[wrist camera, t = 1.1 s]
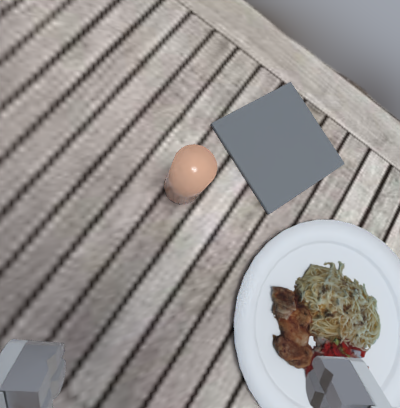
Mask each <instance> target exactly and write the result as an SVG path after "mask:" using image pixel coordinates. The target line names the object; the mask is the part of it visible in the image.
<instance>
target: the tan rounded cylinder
mask: <svg viewBox="0 0 400 408" xmlns="http://www.w3.org/2000/svg"><path fill="white" fill-rule="evenodd" d="M216 172H217V162H216V159H215V157H214V155H213V154H212V153H211V152H210V151H209V150H208V149H207V148H205V147H203V146H200V145H195V144H194V145H187V146H185V147H183V148H181V149H180V150H179V151H178V152H177V153H176V155H175V157H174V160H173V162H172V165H171V167H170V170H169V173H168V175H167V178H166V180H165V184H164V190H165V193H166V195H167V197H168V198H169V199H170V200H171V201H173V202H174V203H177V204H188V203H190V202H192V201H193V200H194V199H195V198H196V197H197V196H198V195H199V194H200V193H201V192H202V191H203V190H204V189H205V188H206V187H207V186H208V185H209V184H210V182H211V181H212V180H213V179H214V177H215V175H216Z"/></svg>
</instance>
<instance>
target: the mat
mask: <svg viewBox="0 0 400 408" xmlns="http://www.w3.org/2000/svg"><path fill="white" fill-rule="evenodd" d="M211 126H212V128H213V130H214V131H215V133H216V134H217V136H218V137H219V139H220V141H221V142H222V144H223V145H224V147H225V148H226V150H227V151H228V153H229V155H230V156H231V158H232V159H233V161H234V162H235V164H236V166H237V167H238V169H239V170H240V172H241V173H242V175H243V177H244V178H245V180H246V181H247V183H248V184H249V186H250V188H251V189H252V191H253V192H254V194H255V195H256V197H257V199H258V200H259V202H260V203H261V205H262V206H263V208H264V209H265V211H266V213H267V214H270V213H272V212H273V211H275V210H276V209H278V208H279V207H281V206H282V205H284V204H285V203H287V202H288V201H290V200H291V199H293V198H294V197H296V196H297V195H299V194H300V193H302V192H303V191H305V190H306V189H308V188H309V187H310V186H312V185H313V184H315V183H316V182H318V181H319V180H321V179H322V178H324V177H325V176H327V175H328V174H330V173H331V172H333V171H334V170H336V169H337V168H339V167H340V166H342V165H343V164H344V162H343V161H342V159H341V157H340V156H339V154H338V153H337V151H336V150H335V148H334V147H333V145H332V144H331V142H330V141H329V139H328V138H327V136H326V135H325V133H324V132H323V130H322V129H321V127H320V126H319V124H318V123H317V121H316V120H315V118H314V117H313V115H312V113H311V112H310V110H309V109H308V107H307V106H306V104H305V103H304V101H303V100H302V98H301V97H300V95H299V94H298V92H297V91H296V89H295V88H294V86H293V85H292V83H291V82H289V83H288V84H286V85H284V86H282V87H280V88H278V89H276V90H274V91H272V92H270V93H268V94H267V95H265V96H263V97H261V98H259V99H257V100H255V101H253V102H251V103H249V104H248V105H246V106H244V107H242V108H240V109H238V110H236V111H234V112H232V113H230V114H228V115H227V116H225V117H223V118H221V119H219V120H217V121H215V122H213V123H212V124H211Z"/></svg>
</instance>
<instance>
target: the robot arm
mask: <svg viewBox="0 0 400 408" xmlns="http://www.w3.org/2000/svg"><path fill="white" fill-rule="evenodd" d="M64 351H65V349H64V343H57V342H45V341H32V340H17V339H12V340H11V341H9V342H8V343H7V344H6V346H5V347H4V349H3V350H2V352H1V353H0V408H53V401H52V400H53V399H55V398H56V397H57V396H58V395H59V393H60V391H61V388H62V385H63V381H64V377H65V371H66V361H65V360H64V359H63V358H62V356H63V354H64ZM312 366H313V368H314V369H313V370H311V371H310V372H308V374H307V377H306V393H307V397H308V400H309V403H310V405H311V406H312V407H313V408H397V407H392V406H391V405H390V403H389V401H388V400H387V398H386V396H385V395H384V393H383V391H382V390H381V388H380V386H379V385H378V383H377V381H376V380H375V378H374V377H373V375H372V373H371V372H370V370H369V368H368V367H367V365H366V363H365V362H364V361H363V360H362V359H361V358H348V357H331V356H316V357H315V358H314V359H313V361H312Z"/></svg>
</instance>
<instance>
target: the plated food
mask: <svg viewBox="0 0 400 408" xmlns="http://www.w3.org/2000/svg"><path fill="white" fill-rule="evenodd" d="M234 343H235V348H236V353H237V357H238V362H239V366H240V369H241V371H242V374H243V376H244V379H245V381H246V383H247V386H248V388H249V390H250V392H251V393H252V395H253V396H254V398H255V399H256V401H257V402H258V404H259V405H260V407H261V408H313V407H312V406H311V405H310V403H309V400H308V397H307V393H306V377H307V374H308V372H310V371H311V370H313V369H314V368H313V366H312V361H313V359H314V358H315V357H316V356H331V357H348V358H361V359H362V360H363V361H364V362H365V363H366V365H367V367H368V368H369V370H370V372H371V373H372V375H373V377H374V378H375V380H376V381H377V383H378V385H379V386H380V388H381V390H382V391H383V393H384V395H385V396H386V398H387V400H388V401H389V403H390V405H391V406H392V407H397V408H400V259H399V258H398V257H397V255H396V254H395V253H394V252H393V251H392V250H391V249H390V248H389V247H388V246H387V245H386V244H385V243H384V242H383V241H381V240H380V239H379V238H377V237H376V236H374V235H373V234H372V233H370V232H369V231H367V230H365V229H362V228H360V227H358V226H356V225H354V224H351V223H346V222H342V221H338V220H313V221H309V222H304V223H299V224H297V225H295V226H293V227H290V228H288V229H286V230H284V231H282V232H281V233H279V234H278V235H277V236H275V237H274V238H273V239H271V240H270V241H269V242H267V244H266V245H265V246H264V247H263V248H262V249H261V250H260V252H259V253H258V254H257V255H256V256H255V257H254V259H253V261H252V263H251V264H250V266H249V268H248V270H247V271H246V273H245V275H244V277H243V280H242V283H241V286H240V289H239V292H238V295H237V300H236V307H235V314H234Z"/></svg>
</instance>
